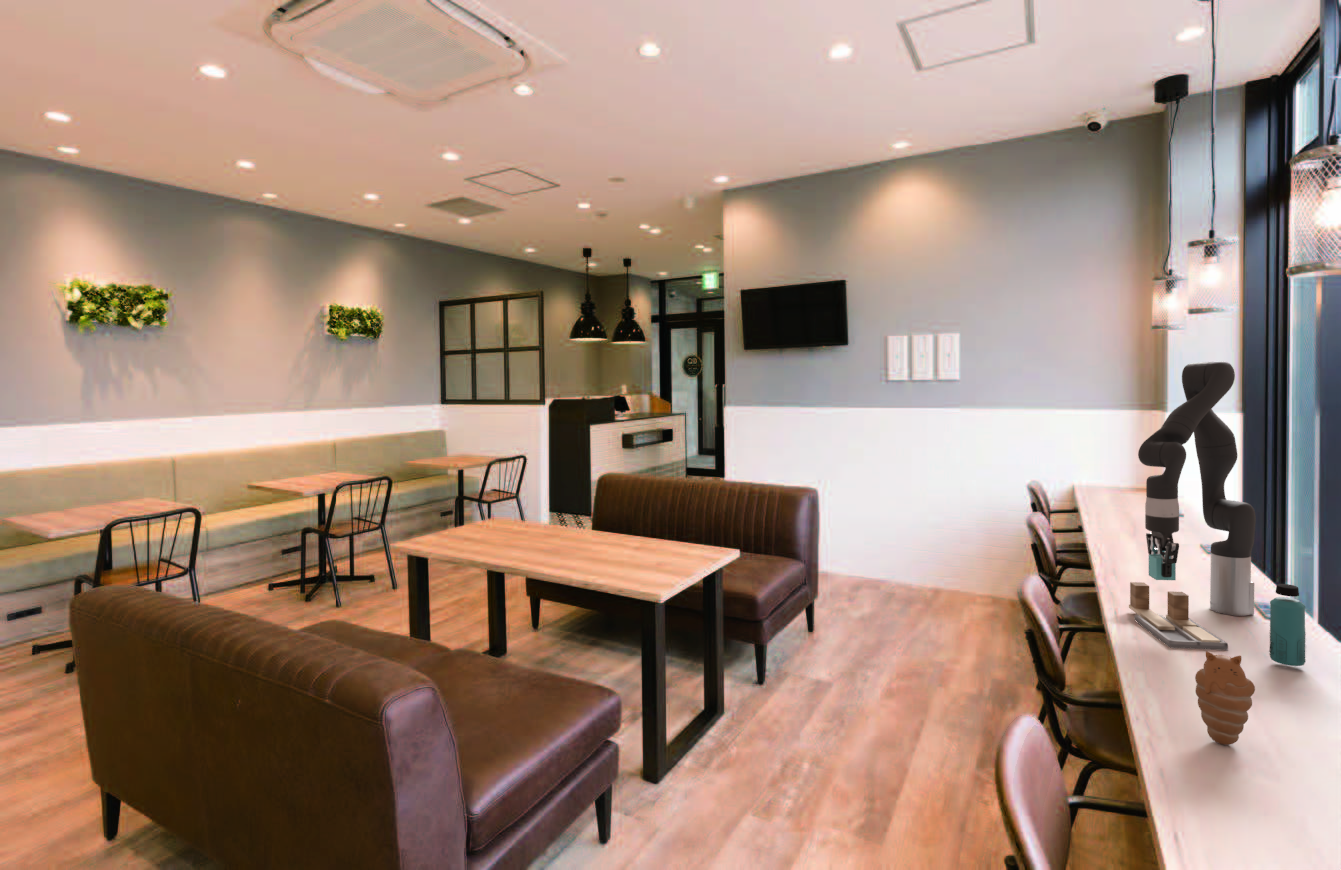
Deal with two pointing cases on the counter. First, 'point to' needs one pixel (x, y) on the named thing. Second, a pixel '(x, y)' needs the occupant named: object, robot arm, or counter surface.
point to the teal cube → (1159, 568)
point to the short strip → (1179, 609)
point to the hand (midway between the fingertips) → (1161, 574)
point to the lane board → (1185, 636)
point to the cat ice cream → (1223, 697)
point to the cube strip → (1153, 619)
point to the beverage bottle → (1287, 627)
